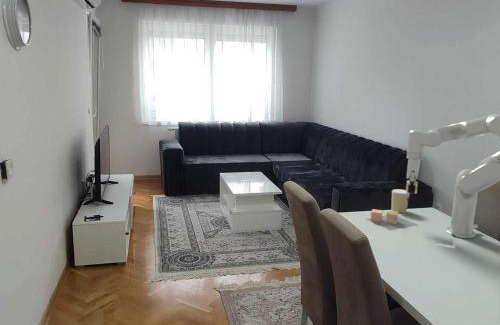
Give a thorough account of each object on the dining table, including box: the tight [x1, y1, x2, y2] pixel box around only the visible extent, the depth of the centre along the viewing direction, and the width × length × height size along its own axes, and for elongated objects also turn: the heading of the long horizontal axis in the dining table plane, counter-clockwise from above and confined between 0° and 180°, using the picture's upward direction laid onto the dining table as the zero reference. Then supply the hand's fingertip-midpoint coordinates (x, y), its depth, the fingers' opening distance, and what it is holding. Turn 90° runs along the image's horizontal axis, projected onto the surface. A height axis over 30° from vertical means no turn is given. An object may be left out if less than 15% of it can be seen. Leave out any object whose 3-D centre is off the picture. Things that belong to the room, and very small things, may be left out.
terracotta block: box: [370, 208, 384, 223], centre depth 204 cm, size 5×5×5 cm
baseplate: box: [365, 215, 418, 231], centre depth 203 cm, size 19×17×1 cm
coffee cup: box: [390, 188, 411, 214], centre depth 221 cm, size 9×9×12 cm
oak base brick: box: [386, 210, 399, 224], centre depth 202 cm, size 5×5×5 cm
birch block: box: [405, 180, 419, 194], centre depth 197 cm, size 5×5×5 cm
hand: (411, 191), depth 197 cm, fingers closed on birch block, 4 cm apart
